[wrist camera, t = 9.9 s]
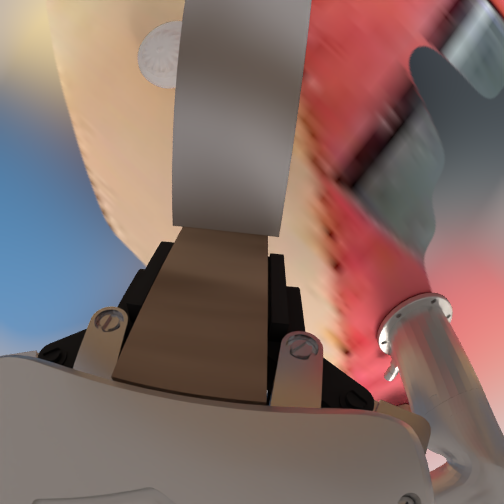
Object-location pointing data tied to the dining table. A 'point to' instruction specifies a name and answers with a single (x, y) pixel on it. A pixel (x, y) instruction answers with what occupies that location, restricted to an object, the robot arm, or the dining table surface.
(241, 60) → the turner
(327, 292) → the dining table surface
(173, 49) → the muffin
